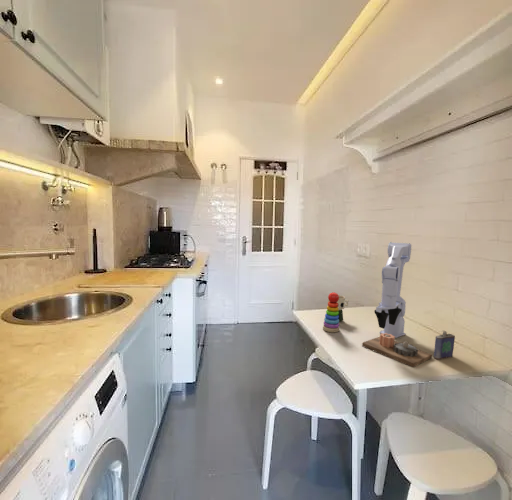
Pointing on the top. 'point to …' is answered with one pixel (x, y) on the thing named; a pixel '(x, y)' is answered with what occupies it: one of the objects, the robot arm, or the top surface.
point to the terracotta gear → (387, 340)
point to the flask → (444, 346)
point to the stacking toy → (332, 314)
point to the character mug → (341, 306)
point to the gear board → (399, 352)
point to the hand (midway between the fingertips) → (386, 326)
